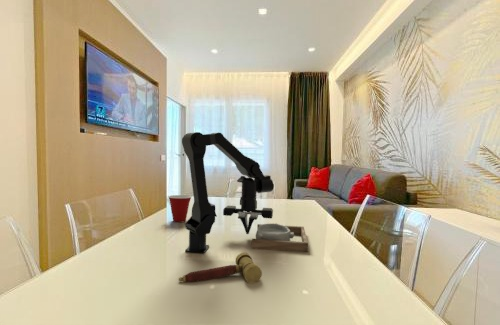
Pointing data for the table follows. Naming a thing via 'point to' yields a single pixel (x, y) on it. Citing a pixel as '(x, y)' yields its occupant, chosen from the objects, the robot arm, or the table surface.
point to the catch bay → (283, 242)
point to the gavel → (228, 271)
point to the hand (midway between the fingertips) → (247, 233)
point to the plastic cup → (179, 207)
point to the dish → (274, 232)
